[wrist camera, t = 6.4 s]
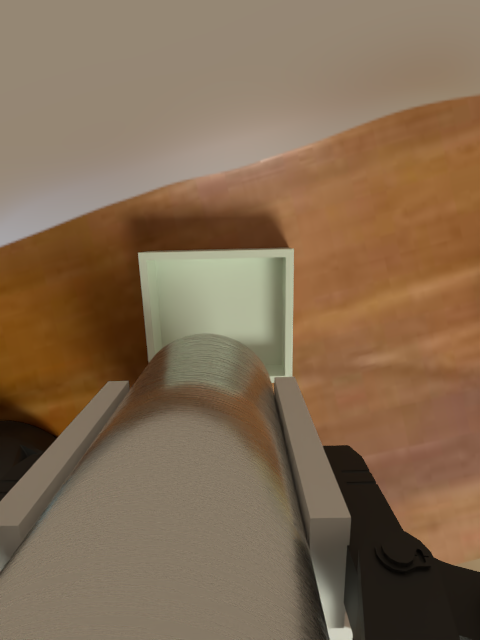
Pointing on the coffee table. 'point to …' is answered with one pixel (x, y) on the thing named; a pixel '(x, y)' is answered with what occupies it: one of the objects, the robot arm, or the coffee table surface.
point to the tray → (222, 299)
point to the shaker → (174, 517)
